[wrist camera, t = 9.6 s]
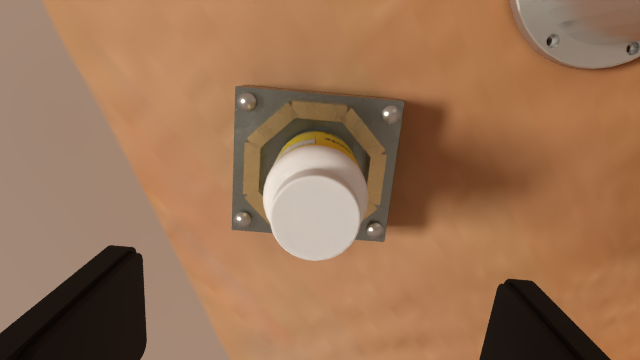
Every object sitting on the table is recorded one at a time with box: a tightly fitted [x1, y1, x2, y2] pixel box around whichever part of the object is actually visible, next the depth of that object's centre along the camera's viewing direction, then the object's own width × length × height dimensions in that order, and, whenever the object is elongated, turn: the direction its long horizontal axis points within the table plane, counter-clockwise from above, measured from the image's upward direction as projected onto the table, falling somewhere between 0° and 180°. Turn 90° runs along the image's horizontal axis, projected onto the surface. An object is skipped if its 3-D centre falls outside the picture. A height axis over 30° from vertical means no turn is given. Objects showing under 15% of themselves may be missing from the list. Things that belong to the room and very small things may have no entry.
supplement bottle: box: [263, 130, 368, 261], centre depth 21 cm, size 5×5×10 cm
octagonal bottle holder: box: [232, 85, 405, 242], centre depth 26 cm, size 11×10×5 cm
